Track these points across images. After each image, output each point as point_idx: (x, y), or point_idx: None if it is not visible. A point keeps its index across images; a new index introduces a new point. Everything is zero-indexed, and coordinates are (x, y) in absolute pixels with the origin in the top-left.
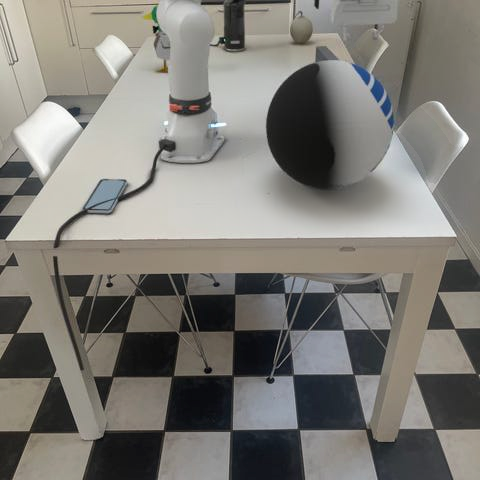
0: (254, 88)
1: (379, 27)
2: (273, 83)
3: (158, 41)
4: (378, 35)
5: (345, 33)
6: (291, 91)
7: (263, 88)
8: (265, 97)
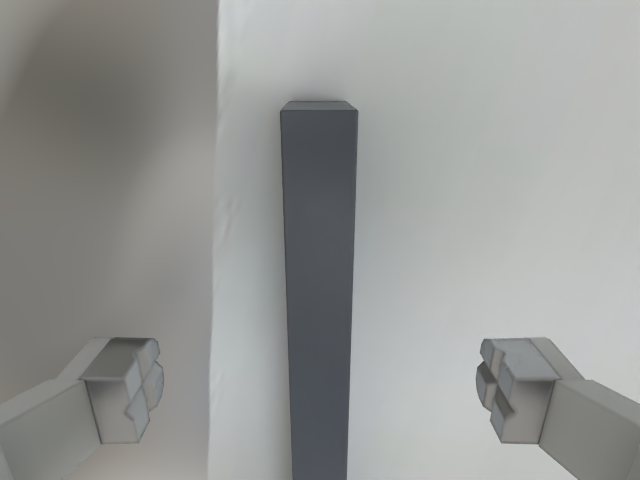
0: None
1: (8, 466)
2: (538, 458)
3: None
4: (81, 362)
5: (603, 390)
6: None
7: None
8: (630, 336)
